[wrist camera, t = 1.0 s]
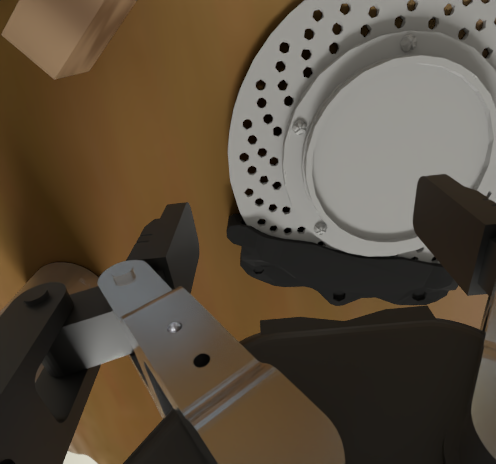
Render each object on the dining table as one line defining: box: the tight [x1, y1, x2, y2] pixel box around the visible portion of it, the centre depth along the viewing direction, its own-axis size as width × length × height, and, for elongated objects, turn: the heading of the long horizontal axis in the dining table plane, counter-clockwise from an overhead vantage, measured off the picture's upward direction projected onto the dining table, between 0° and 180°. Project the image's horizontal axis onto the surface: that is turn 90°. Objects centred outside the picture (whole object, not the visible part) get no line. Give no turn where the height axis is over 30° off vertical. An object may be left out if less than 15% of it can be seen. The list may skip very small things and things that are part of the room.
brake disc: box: [227, 0, 496, 306], centre depth 32 cm, size 32×30×5 cm
